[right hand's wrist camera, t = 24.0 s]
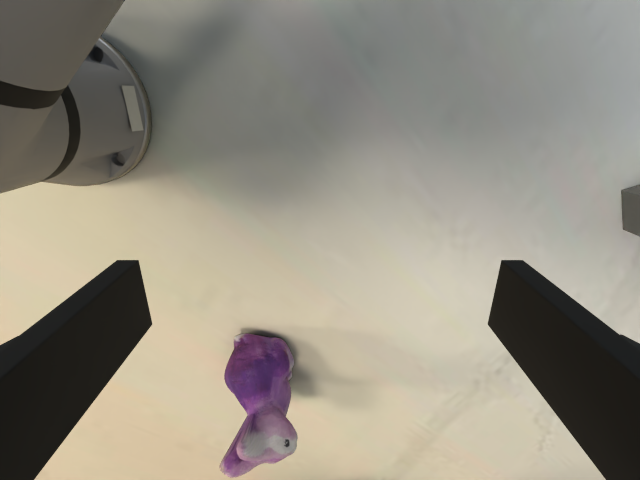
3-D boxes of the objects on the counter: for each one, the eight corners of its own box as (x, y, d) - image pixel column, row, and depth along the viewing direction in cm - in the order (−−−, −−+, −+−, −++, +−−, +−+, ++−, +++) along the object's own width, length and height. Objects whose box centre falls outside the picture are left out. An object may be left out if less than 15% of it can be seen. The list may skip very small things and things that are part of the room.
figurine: (298, 391, 49) (289, 505, 35) (227, 378, 48) (189, 490, 34) (312, 338, 46) (309, 441, 32) (236, 323, 45) (199, 423, 31)
